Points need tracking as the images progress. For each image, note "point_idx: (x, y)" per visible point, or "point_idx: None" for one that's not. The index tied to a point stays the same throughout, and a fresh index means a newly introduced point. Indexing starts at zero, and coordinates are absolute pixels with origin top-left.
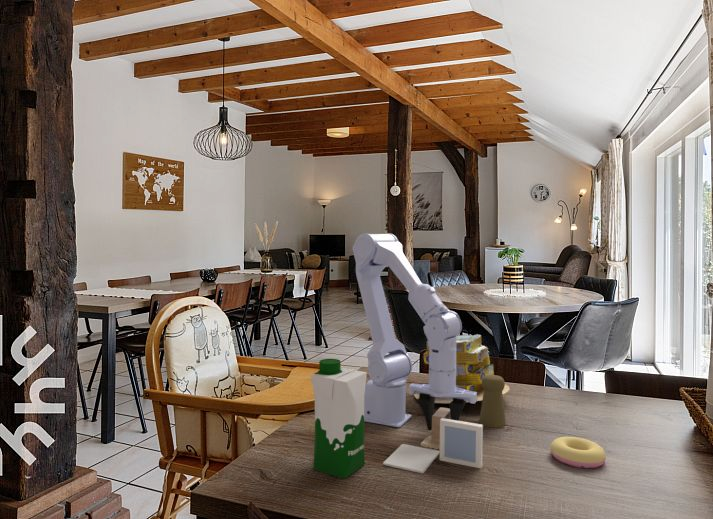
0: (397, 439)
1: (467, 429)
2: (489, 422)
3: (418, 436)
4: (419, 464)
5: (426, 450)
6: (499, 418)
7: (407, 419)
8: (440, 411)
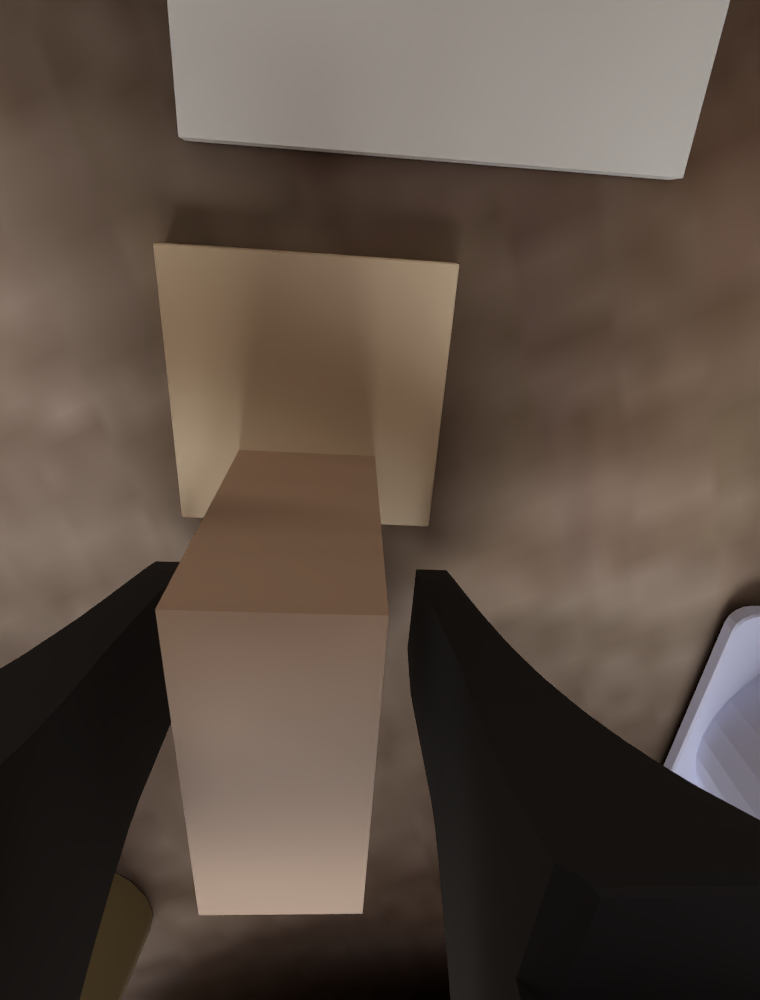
0: (734, 346)
1: None
2: None
3: (525, 503)
4: None
5: (339, 75)
6: None
7: (672, 757)
8: (313, 808)
